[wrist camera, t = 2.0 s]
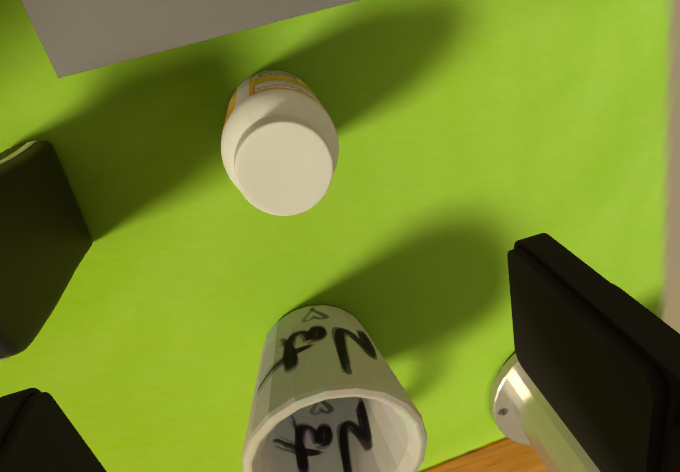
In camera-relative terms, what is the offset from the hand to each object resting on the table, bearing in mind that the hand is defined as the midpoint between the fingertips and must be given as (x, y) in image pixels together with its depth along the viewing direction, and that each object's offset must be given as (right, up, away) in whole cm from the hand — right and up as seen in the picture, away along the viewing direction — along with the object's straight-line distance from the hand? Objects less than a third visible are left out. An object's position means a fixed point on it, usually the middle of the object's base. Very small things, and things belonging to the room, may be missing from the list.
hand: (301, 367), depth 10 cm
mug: (-1, -7, +27) cm, 28 cm away
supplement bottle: (-3, +10, +18) cm, 21 cm away
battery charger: (-16, +5, +18) cm, 25 cm away
